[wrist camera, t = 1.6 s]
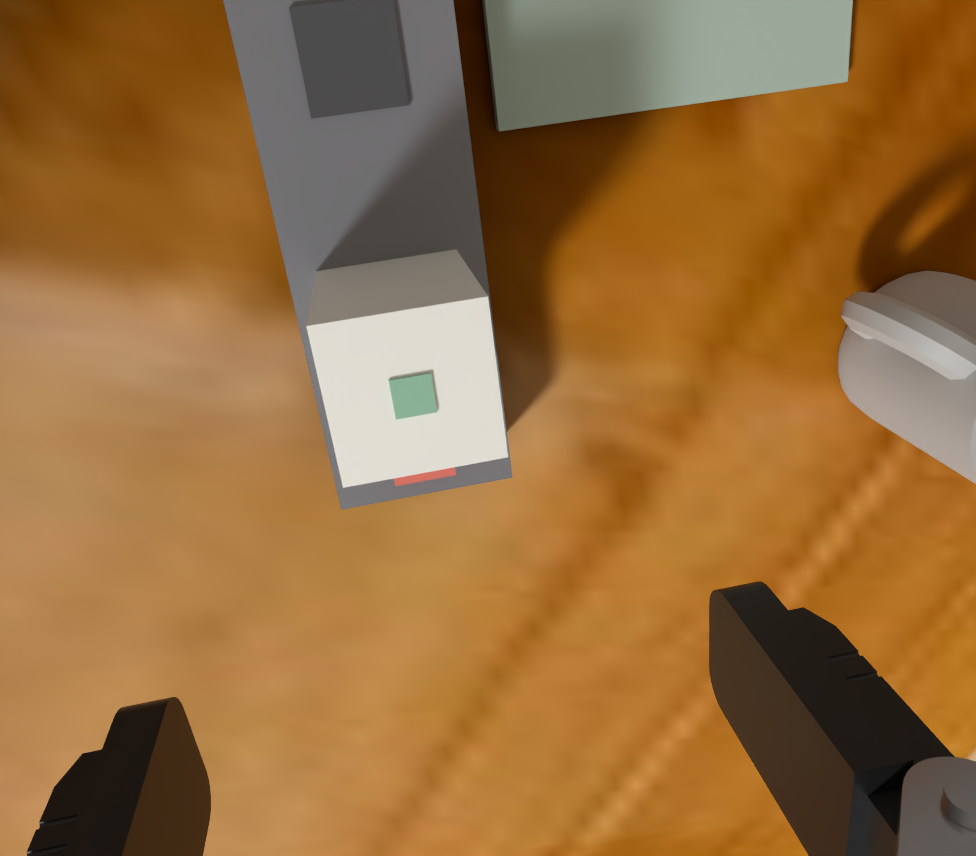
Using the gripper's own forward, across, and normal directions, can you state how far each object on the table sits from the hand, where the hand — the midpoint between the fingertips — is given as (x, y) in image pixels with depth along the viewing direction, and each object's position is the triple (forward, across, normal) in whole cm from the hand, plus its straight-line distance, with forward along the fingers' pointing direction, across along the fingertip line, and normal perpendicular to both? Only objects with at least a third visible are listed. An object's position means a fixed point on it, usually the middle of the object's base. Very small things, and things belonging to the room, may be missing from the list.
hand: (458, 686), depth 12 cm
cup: (+22, -22, +5) cm, 32 cm away
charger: (+20, 0, 0) cm, 21 cm away
